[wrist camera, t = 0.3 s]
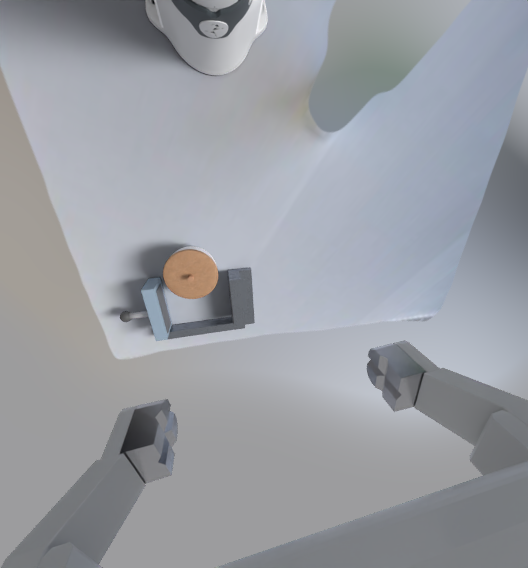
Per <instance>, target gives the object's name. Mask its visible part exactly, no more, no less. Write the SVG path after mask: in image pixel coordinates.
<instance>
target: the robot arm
mask: <svg viewBox="0 0 528 568" xmlns="http://www.w3.org/2000/svg"><path fill="white" fill-rule="evenodd" d="M152 1H153V0H145V3H146V12H147V16H148V18H149V20H150V21H151V23H152V24H153V25H154V26H155V27H156V28H158V29H159V30H160V31H161V32H163V33H164V34H165V35H166V36H167V37H168V38H169V40H170V41H171V43H172V44H173V46H174V47H175V49H176V50H177V52H178V53H179V55H180V56H181V57H182V58H183V59H184V60H185V61H186V62H187V63H188V64H189V65H190V66H192V67H193V68H195V69H196V70H198V71H200V72H202V73H205V74H209V75H223V74H227V73H229V72H231V71H233V70H234V69H236V68H237V67H238V66H239V65H240V64H241V63H242V62H243V60H244V59H245V57H246V56H247V54H248V51H249V49H250V47H251V45H252V43H253V41H254V40H255V39H256V38H257V37H259V36H260V35H261V34H262V33H263V32H264V30H265V29H266V26H267V11H266V5H265V0H154V2H155V5H154V4H153V3H152ZM368 356H369V358H370V359H371V360H370V361H369V363H368V364H367V373H368V376H369V378H370V380H371V382H372V384H373V385H374V386H375V387H376V388H378V389H380V390H381V391H382V395H383V398H384V399H385V400H386V402H387V403H388V404H389V406H390V407H391V408H392V409H393V411H394V412H395V411H399V410H403V409H407V408H411V407H415V408H416V409H417V410H419V411H420V412H422V413H424V414H425V415H427V416H428V417H430V418H431V419H433V420H435V421H436V422H438V423H439V424H441V425H443V426H444V427H446V428H447V429H449V430H451V431H452V432H454V433H456V434H457V435H458V436H460V437H462V438H463V439H465V440H466V441H468V442H470V443H471V444H473V445H474V446H475V447H474V449H473V451H472V453H471V455H470V461H471V462H472V463H473V465H474V466H475V467H476V468H477V469H478V470H479V471H480V472H481V474H482V475H483V476H481V477H478V478H475V479H472V480H469V481H466V482H463V483H460V484H458V485H455V486H452V487H449V488H446V489H443V490H440V491H437V492H434V493H432V494H428V495H426V496H423V497H420V498H417V499H414V500H411V501H408V502H405V503H402V504H399V505H396V506H393V507H390V508H388V509H385V510H382V511H379V512H376V513H373V514H370V515H367V516H364V517H362V518H359V519H355V520H353V521H350V522H347V523H344V524H341V525H338V526H335V527H332V528H329V529H327V530H324V531H321V532H318V533H315V534H312V535H309V536H306V537H303V538H300V539H297V540H294V541H291V542H288V543H286V544H283V545H280V546H277V547H274V548H271V549H268V550H265V551H262V552H259V553H257V554H253V555H251V556H248V557H245V558H242V559H239V560H236V561H233V562H230V563H227V564H225V565H222V566H219V567H216V568H528V400H525V399H523V398H520V397H518V396H515V395H512V394H510V393H507V392H505V391H502V390H499V389H497V388H494V387H491V386H489V385H486V384H484V383H481V382H479V381H476V380H473V379H471V378H468V377H466V376H463V375H460V374H458V373H455V372H453V371H450V370H447V369H445V368H441V369H440V368H438V367H437V366H436V365H435V364H434V363H433V362H431V361H430V360H429V359H428V358H427V357H425V356H424V355H423V354H422V353H421V352H419V351H418V350H417V349H416V348H415V347H414V346H412V345H411V344H410V343H409V342H407V341H401V342H397V343H393V344H388V345H384V346H380V347H377V348H372V349H370V351H369V354H368ZM170 406H171V405H170V403H169V401H168V399H166V400H161V401H156V402H151V403H147V404H142V405H138V406H135V407H130V408H126V409H123V410H122V411H121V412H120V413H119V415H118V418H117V421H116V423H115V425H114V428H113V430H112V432H111V435H110V437H109V440H108V443H107V445H106V447H105V450H104V452H103V455H102V457H101V459H100V460H97V461H95V462H94V463H93V464H92V465H91V466H90V468H89V469H88V470H87V471H86V472H85V473H84V474H83V475H82V476H81V477H80V478H79V480H78V481H77V482H76V483H75V484H74V485H73V486H72V487H71V488H70V490H68V492H67V493H66V494H65V495H64V496H63V497H62V498H61V499H60V500H59V501H58V503H57V504H56V505H55V506H54V507H53V508H52V509H51V510H50V511H49V512H48V514H47V515H46V516H45V517H44V518H43V519H42V520H41V521H40V522H39V523H38V524H37V525H36V527H35V528H34V529H33V530H32V531H31V532H30V533H29V534H28V535H27V536H26V538H25V539H24V540H23V541H22V542H21V543H20V544H19V545H18V546H17V547H16V549H15V550H14V551H13V552H12V553H11V554H10V555H9V556H8V557H7V558H6V559H5V561H4V563H3V565H2V567H1V568H102V567H101V566H100V565H99V563H100V561H101V560H102V558H103V556H104V555H105V553H106V551H107V550H108V548H109V546H110V545H111V543H112V541H113V539H114V538H115V536H116V534H117V533H118V531H119V529H120V528H121V526H122V524H123V523H124V521H125V519H126V518H127V516H128V514H129V513H130V511H131V509H132V507H133V505H134V504H135V502H136V501H137V499H138V497H139V495H140V494H141V492H142V491H143V489H144V487H145V484H146V483H149V482H152V481H155V480H158V479H161V478H164V477H168V476H171V475H172V469H173V462H174V452H173V450H172V446H173V445H174V443H175V442H176V441H177V434H178V425H177V419H176V416H175V414H174V413H173V412H171V411H170Z"/></svg>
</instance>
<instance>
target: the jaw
mask: <svg viewBox="0 0 528 568" xmlns="http://www.w3.org/2000/svg"><path fill="white" fill-rule="evenodd" d="M141 293H142V296H143V299H144V303H145V306H146V309H147V311H142V312H134V313H130V312H128V311H125V312H122V313H121V315H120V319H121V320H122V321H123V322H128V321H130V320H131V319H135V318H143V317H149V319H150V323H151V326H152V329H153V333H154V336H155V339H156V341H160V340H167V339H168V336H169V332H170V329H171V326H172V322H171V318H170V314H169V310H168V306H167V302H166V298H165V294H164V291H163V287H162V283H161V279H160V277H159V278H149V279H148V280H147V282H146V283H145V285H144V287H143V288H142V290H141Z"/></svg>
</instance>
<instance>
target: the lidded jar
mask: <svg viewBox="0 0 528 568" xmlns="http://www.w3.org/2000/svg"><path fill="white" fill-rule="evenodd" d="M163 278H164V281H165V283H166V285H167V287H168V288H169V289H170V290H171V291H172V292H173V293H174V294H176V295H178V296H180V297H183V298H187V299H197V298H201V297H204V296H206V295H207V294H209V293H210V292H211V291H212V290H213V289H214V288H215V286H216V284H217V281H218V269H217V265H216V263H215V260H214V259H213V257H212V256H211V255H210V254H209V253H208V252H207V251H206V250H204V249H202V248H199V247H195V246H188V247H184V248H181V249H179V250H177V251H176V252H174V253H173V254H172V255H171V257H170V258H169V259H168V260H167V261H166V263H165V266H164V269H163Z"/></svg>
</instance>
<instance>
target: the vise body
mask: <svg viewBox="0 0 528 568" xmlns="http://www.w3.org/2000/svg"><path fill="white" fill-rule="evenodd" d="M228 283H229V292H230V301H231V310H232V317H227V318H220V319H212V320H205V321H198V322H191V323H183V324H176V325H172V326H171V329H170V332H169V336H168V339H172V338H179V337H186V336H193V335H200V334H207V333H213V332H220V331H227V330H234V329H242V328H245V324H252V323H254V308H253V292H252V276H251V268H241V269H232V270H228Z"/></svg>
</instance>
